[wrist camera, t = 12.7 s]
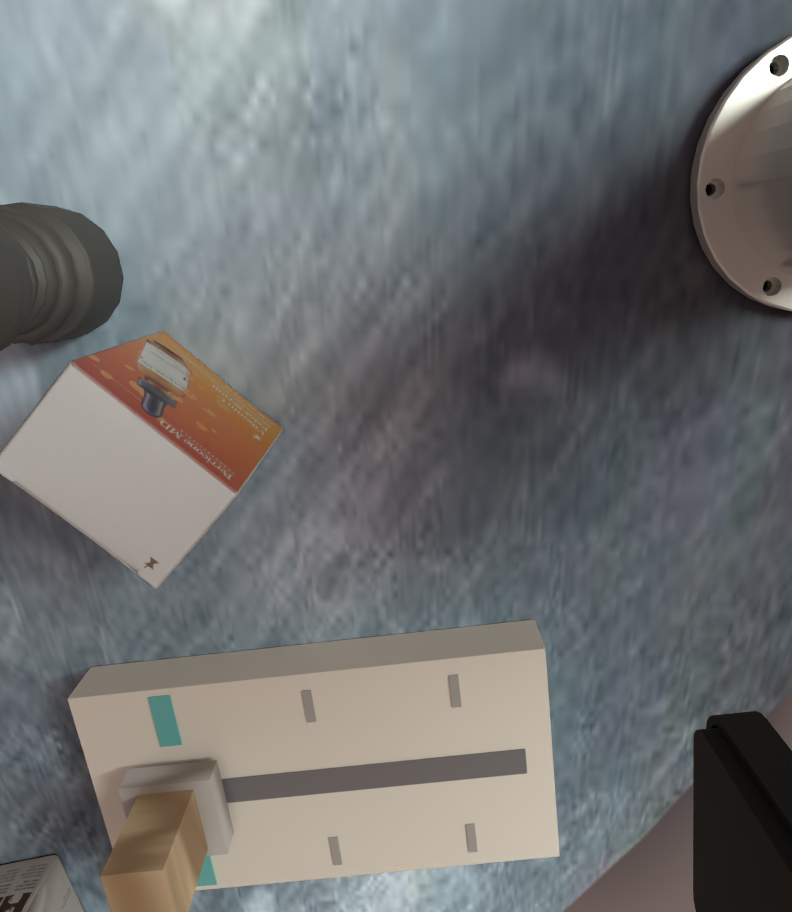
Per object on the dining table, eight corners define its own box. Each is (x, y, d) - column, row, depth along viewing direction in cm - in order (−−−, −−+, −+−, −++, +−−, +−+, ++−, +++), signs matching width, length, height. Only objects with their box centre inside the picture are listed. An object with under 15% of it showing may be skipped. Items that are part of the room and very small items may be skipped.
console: (534, 619, 40) (545, 649, 37) (548, 816, 44) (559, 857, 41) (90, 667, 41) (66, 699, 38) (144, 855, 45) (126, 898, 42)
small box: (286, 428, 36) (244, 497, 26) (221, 502, 38) (157, 595, 28) (163, 326, 35) (68, 357, 25) (99, 406, 36) (-17, 467, 26)
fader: (216, 759, 38) (181, 859, 32) (233, 832, 40) (203, 940, 33) (128, 769, 38) (76, 869, 32) (148, 840, 40) (102, 950, 34)
